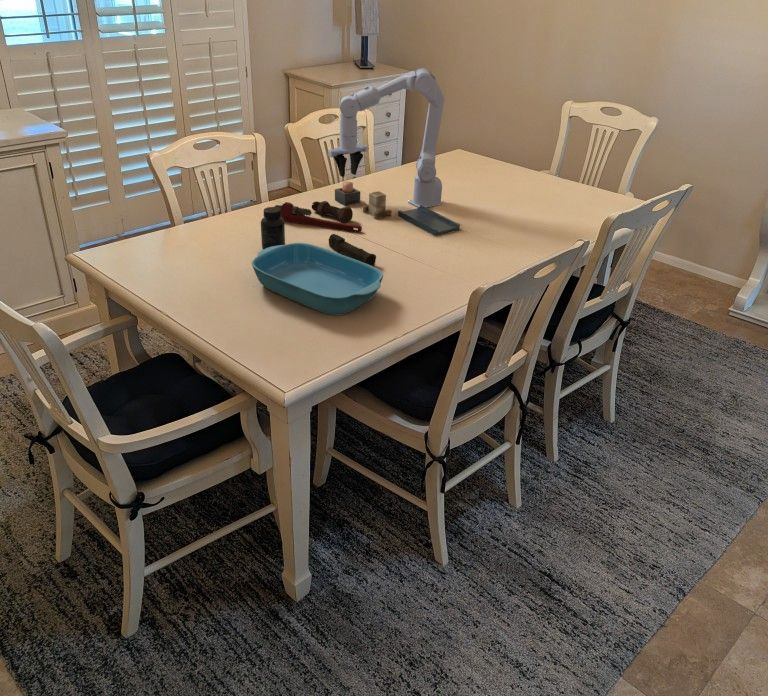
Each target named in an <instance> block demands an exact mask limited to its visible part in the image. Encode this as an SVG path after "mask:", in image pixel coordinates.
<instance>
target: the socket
mask: <svg viewBox="0 0 768 696" xmlns="http://www.w3.org/2000/svg"><path fill="white" fill-rule="evenodd" d="M362 212H363V213H365V214H367V213H369V204H367V205H363V206H362ZM389 217H392V210H391V209H385V210H384V211H379V212H375V213H374V216H373V218H374V220H380V219H385V218H389Z"/></svg>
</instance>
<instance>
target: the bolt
mask: <svg viewBox="0 0 768 696" xmlns="http://www.w3.org/2000/svg"><path fill="white" fill-rule="evenodd" d="M311 210H312V211H315V212H318V215H320V216H322V217H323V216H331V217H334V218H337V219H338V220H339V223H346V224H350V222H351V221H352V220H353V215H354V213H353V209H352V208H351V207H350V205H347V206H344V207H342V208H340V207H338V206H334V205H331V204H330V202H329V201H327V200H323V201H314V202H312V204H311Z"/></svg>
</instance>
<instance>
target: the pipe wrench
mask: <svg viewBox="0 0 768 696" xmlns="http://www.w3.org/2000/svg"><path fill="white" fill-rule="evenodd" d="M273 207H277V208H279V209H280V212H281V218H283V220H284V222H288V223H294V224H298V225H299V224H300V225H306V226H313V227H319V228H324V229H326V228H327V229H332V230H338V231H342V230H343V232H349V233H355V234H360V233H361V232H362V230H363V228H362V226H361V225H360V224H353V223H341V222H340V221H333V220H327V219H323V218H317V217H313V216H311V215H312V214H313V212H312V209H309V208H304V207H299V206H295V205H294V204H293V203H292V202H288V201H285V202H284V203H282V204H281V205H280V204H276V205H274V206H273Z"/></svg>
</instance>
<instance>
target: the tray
mask: <svg viewBox="0 0 768 696" xmlns="http://www.w3.org/2000/svg"><path fill="white" fill-rule="evenodd" d="M397 217H398V218H400V219H401V220H404V221H406V222H408V223H410V224H411V225H414V226H416V227H418V228H419V229H421V230H423V231H425V232H426V231H427V233H429V234H430V235H433V236H434V237H438V236H442V234H443V235H446V234H450V233H455V232H458V231H460V230H461V229H460V228H461V224H460V223H457V222H456V221H454V220H452V219H450V218H448V217H446V216H443V215H442V214H440V213H438V212H436V211H433V210H432V209H430V208H429V207H428V208H426V207H424V206H422V205H421V206H420V207H417V208H413V209H409V210H405V211H404V210H400V209H398V210H397ZM454 231H455V232H454Z"/></svg>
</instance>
